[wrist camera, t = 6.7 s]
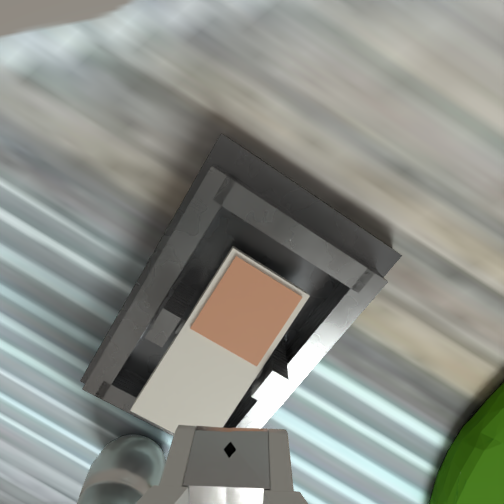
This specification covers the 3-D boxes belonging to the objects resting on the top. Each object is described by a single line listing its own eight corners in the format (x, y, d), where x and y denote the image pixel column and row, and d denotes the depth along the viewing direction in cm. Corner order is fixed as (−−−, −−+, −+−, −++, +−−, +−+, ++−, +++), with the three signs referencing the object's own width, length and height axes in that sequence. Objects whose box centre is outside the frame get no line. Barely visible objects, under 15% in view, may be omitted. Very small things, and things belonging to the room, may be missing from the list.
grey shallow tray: (230, 442, 28) (222, 508, 23) (90, 368, 26) (46, 422, 21) (393, 248, 22) (433, 279, 17) (224, 134, 20) (209, 128, 15)
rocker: (211, 438, 21) (210, 453, 20) (133, 397, 20) (126, 410, 19) (307, 292, 20) (313, 298, 19) (230, 244, 19) (230, 246, 18)
